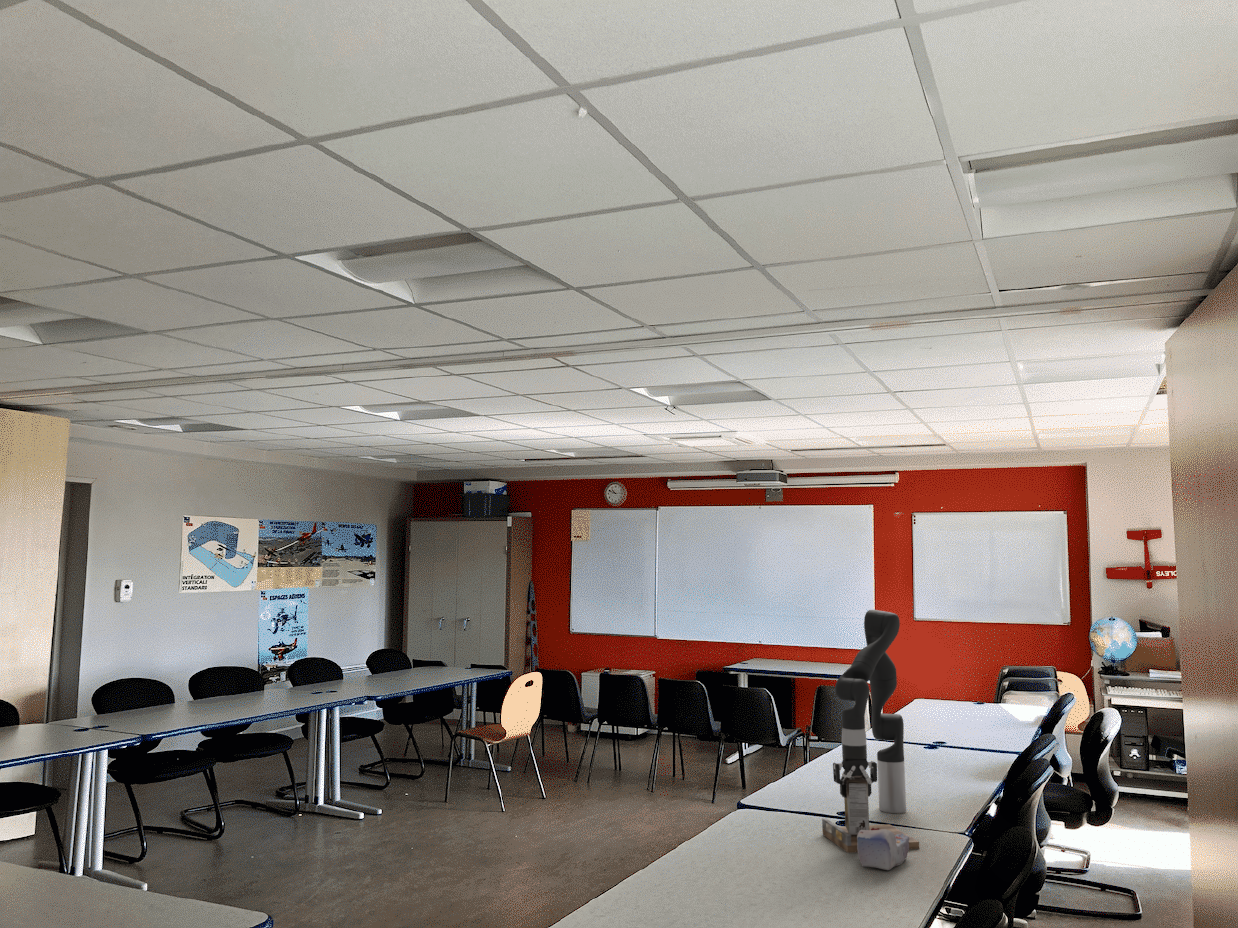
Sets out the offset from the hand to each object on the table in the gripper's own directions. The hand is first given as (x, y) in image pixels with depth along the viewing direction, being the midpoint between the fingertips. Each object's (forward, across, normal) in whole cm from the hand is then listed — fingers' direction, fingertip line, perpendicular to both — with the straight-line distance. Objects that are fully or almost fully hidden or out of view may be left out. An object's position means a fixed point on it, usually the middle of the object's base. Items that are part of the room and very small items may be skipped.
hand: (856, 796), depth 292 cm
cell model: (+14, -1, -21) cm, 25 cm away
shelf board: (+14, +4, 0) cm, 14 cm away
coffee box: (+11, 0, 0) cm, 11 cm away
